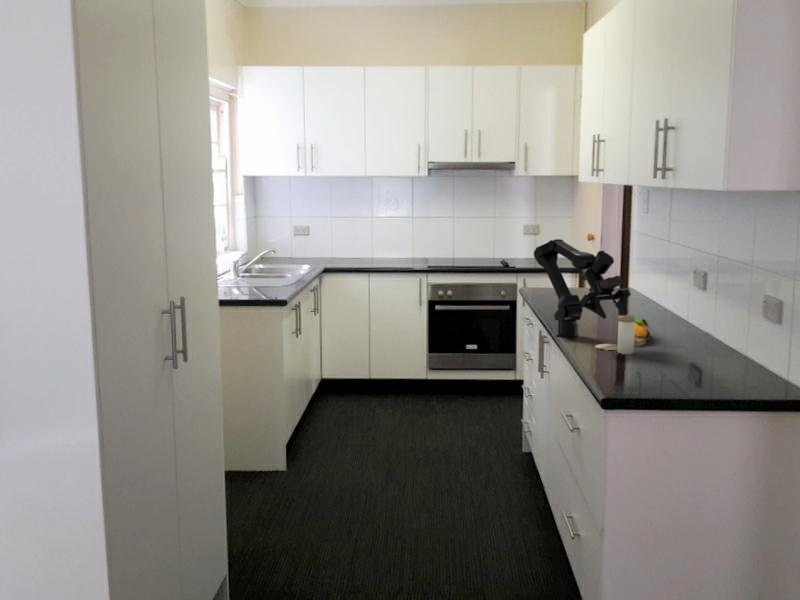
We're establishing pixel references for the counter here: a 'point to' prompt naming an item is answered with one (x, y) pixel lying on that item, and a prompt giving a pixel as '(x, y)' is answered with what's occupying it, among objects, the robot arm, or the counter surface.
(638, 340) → the tile
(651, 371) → the counter surface
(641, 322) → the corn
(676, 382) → the counter surface
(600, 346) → the coaster
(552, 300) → the counter surface
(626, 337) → the jar
